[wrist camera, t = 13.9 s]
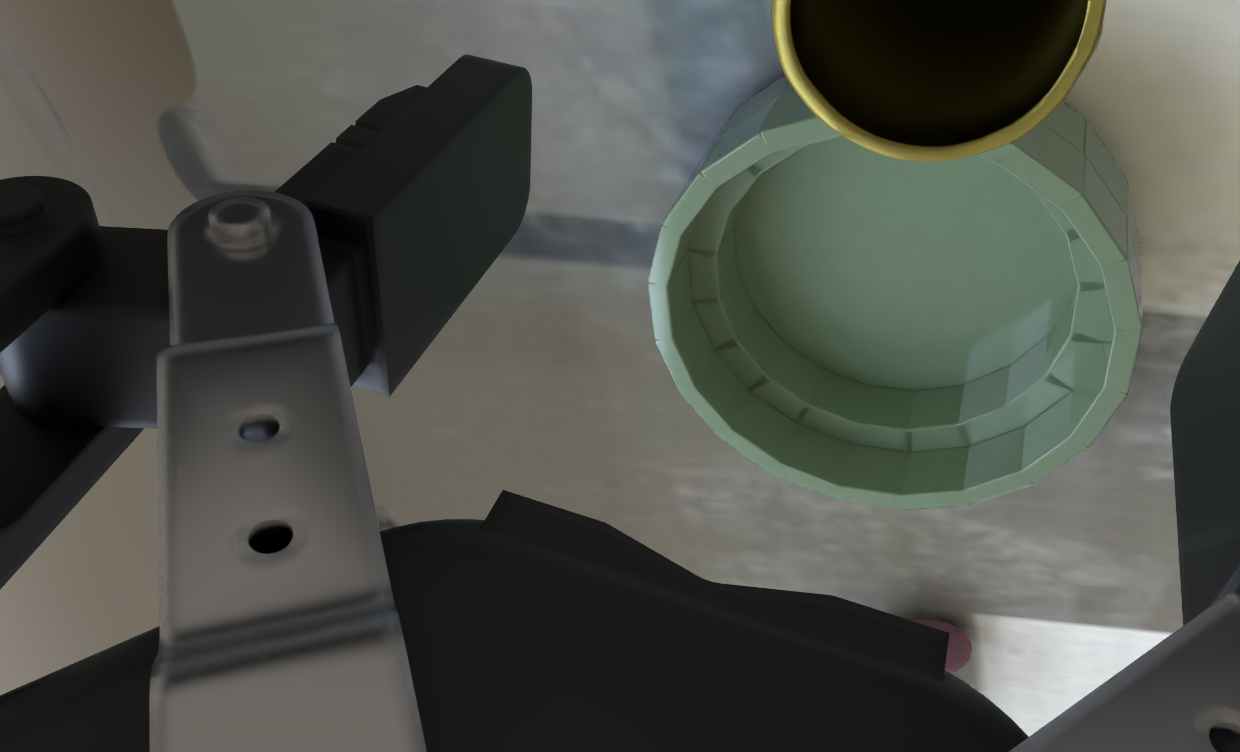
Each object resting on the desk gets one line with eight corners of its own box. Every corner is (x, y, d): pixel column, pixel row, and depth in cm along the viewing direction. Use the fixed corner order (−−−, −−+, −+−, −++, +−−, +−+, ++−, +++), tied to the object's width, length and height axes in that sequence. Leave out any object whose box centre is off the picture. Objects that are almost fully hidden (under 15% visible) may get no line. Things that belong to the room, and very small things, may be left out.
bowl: (630, 110, 36) (576, 180, 33) (1087, -26, 29) (1083, 45, 25) (772, 433, 43) (740, 521, 39) (1171, 389, 36) (1176, 492, 32)
